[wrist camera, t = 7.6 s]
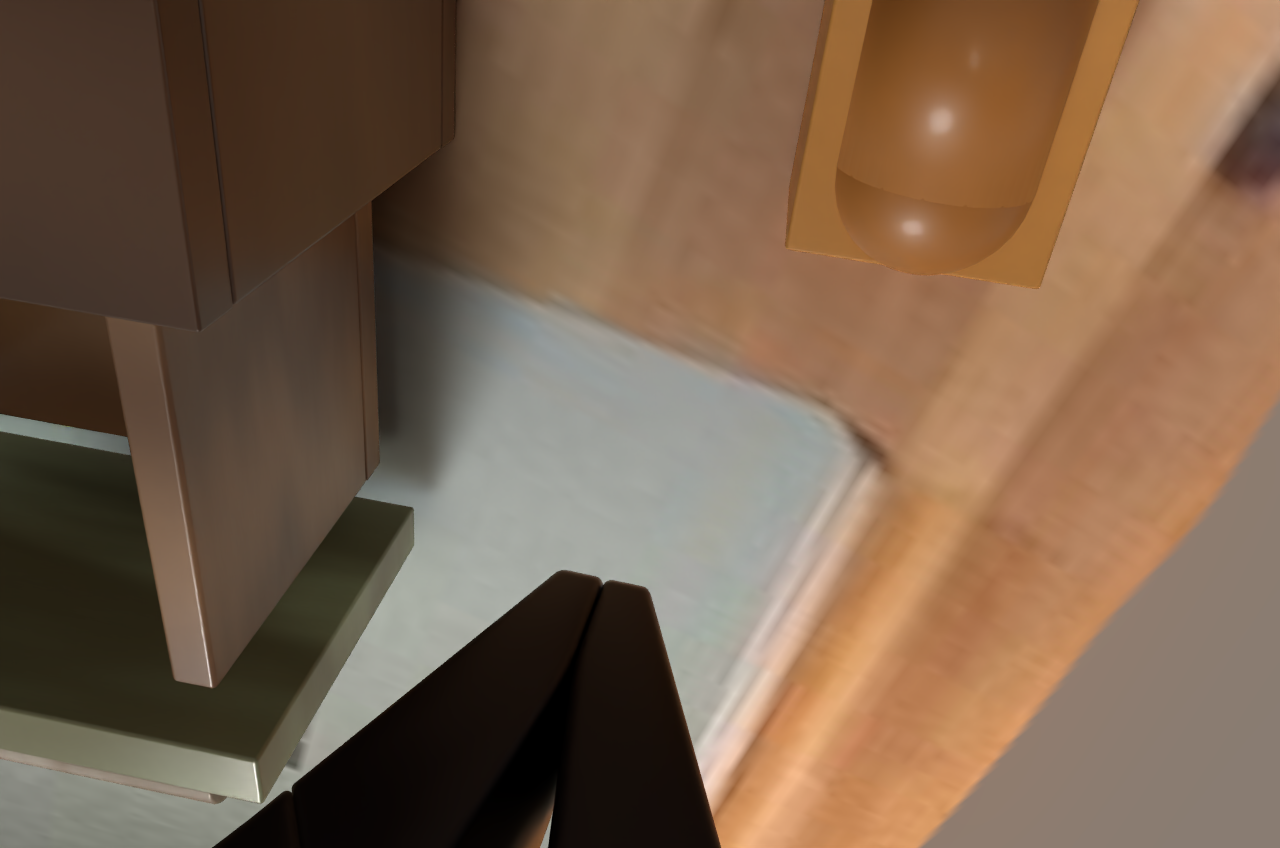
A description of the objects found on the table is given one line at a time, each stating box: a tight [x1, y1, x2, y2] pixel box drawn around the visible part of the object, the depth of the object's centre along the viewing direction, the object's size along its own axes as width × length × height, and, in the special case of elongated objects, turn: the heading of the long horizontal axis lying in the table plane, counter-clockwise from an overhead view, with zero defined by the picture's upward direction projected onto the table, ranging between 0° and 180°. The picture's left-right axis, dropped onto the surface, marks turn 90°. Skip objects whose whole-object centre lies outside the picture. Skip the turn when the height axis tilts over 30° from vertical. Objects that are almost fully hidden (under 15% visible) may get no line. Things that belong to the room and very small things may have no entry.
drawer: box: [0, 201, 414, 804], centre depth 19 cm, size 18×13×8 cm
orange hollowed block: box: [785, 0, 1139, 289], centre depth 15 cm, size 7×4×5 cm, turn 174°
